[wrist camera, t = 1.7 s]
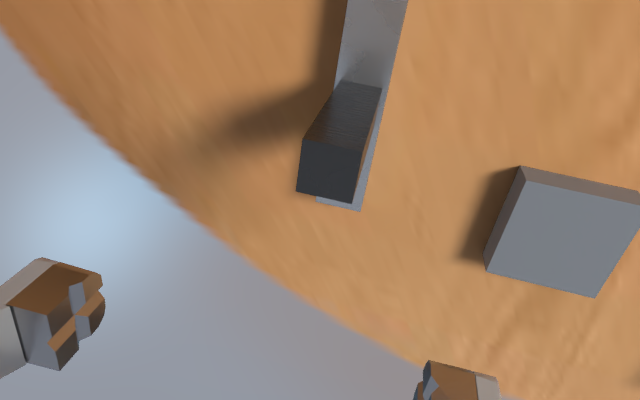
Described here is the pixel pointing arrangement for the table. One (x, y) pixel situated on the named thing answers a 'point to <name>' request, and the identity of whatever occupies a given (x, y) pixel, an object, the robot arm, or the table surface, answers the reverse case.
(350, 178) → the upside-down t block
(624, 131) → the table surface
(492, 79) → the table surface
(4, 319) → the robot arm
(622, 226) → the slate tile
